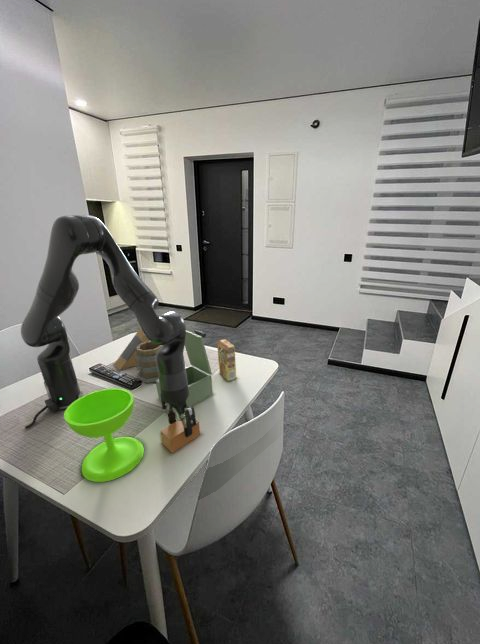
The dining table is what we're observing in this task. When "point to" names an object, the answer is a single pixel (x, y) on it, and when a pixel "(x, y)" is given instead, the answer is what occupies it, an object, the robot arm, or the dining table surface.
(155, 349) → the tankard
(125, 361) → the sandwich container
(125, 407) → the wineglass
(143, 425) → the dining table surface
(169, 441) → the orange-brown rectangular block
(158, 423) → the dining table surface
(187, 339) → the lid
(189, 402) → the bin
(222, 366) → the candy box
